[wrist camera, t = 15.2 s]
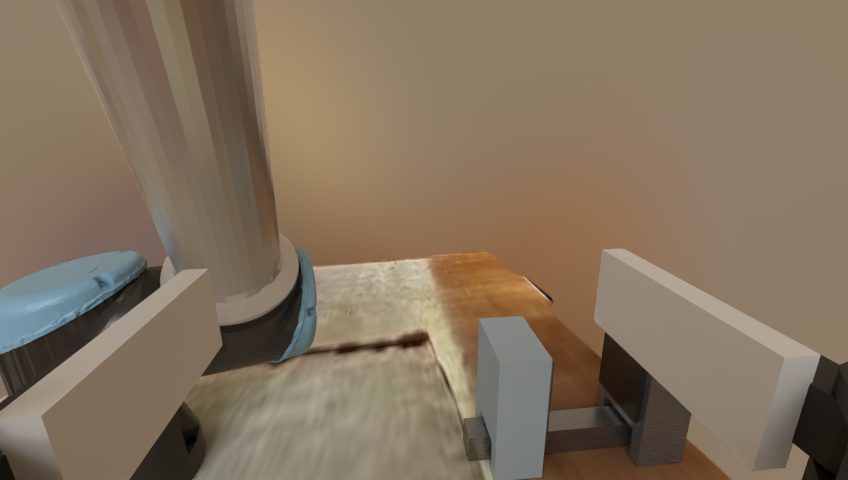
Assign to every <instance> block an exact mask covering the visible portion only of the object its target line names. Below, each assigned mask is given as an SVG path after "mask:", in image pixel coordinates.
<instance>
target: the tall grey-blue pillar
mask: <svg viewBox="0 0 848 480" xmlns="http://www.w3.org/2000/svg"><path fill="white" fill-rule="evenodd" d="M553 373H554V362H553V359H552V358H551V356H550V355H549V354H548V352H547V351H546V349H545V348H544V346H543V345H542V344H541V342H540V341H539V339H538V338H537V336H536V335H535V333H534V332H533V331H532V329H531V328H530V326H529V325H528V323H527V322H526V321H525V319H524V318H523V316H514V317H497V318H480V319H479V337H478V372H477V406H476V417H483V418H484V421H485V424H486V427H487V430H488V433H489V436H490V439H491V442H492V450H491V472H492V476H493V479H494V480H517V479H528V478H538V477H542V469H543V458H544V447H545V436H546V432H547V431H548V427H549V416H550V406H551V395H552V384H553Z"/></svg>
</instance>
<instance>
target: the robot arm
mask: <svg viewBox="0 0 848 480" xmlns="http://www.w3.org/2000/svg"><path fill="white" fill-rule="evenodd" d="M54 1H55V3H56V5H57V7H58V9H59V12H60V14H61V16H62V18H63V21H64V23H65V25H66V27H67V30H68V32H69V34H70V36H71V39H72V41H73V43H74V45H75V48H76V50H77V52H78V54H79V57H80V59H81V61H82V63H83V66H84V68H85V70H86V72H87V74H88V77H89V79H90V81H91V83H92V86H93V88H94V90H95V92H96V95H97V97H98V99H99V101H100V104H101V106H102V108H103V110H104V113H105V115H106V117H107V119H108V121H109V124H110V126H111V128H112V130H113V133H114V135H115V137H116V139H117V142H118V144H119V146H120V148H121V150H122V153H123V155H124V157H125V160H126V162H127V164H128V166H129V168H130V170H131V173H132V175H133V177H134V179H135V182H136V184H137V186H138V189H139V191H140V193H141V195H142V197H143V200H144V202H145V204H146V207H147V209H148V211H149V213H150V215H151V218H152V220H153V222H154V224H155V227H156V229H157V231H158V233H159V236H160V238H161V240H162V242H163V245H164V247H165V249H166V251H167V254H168V257H167V258H166V260H165V262H164V264H163V266H156V267H147V261H146V259H144V258H143V256H142V255H141V254H140V253H138V252H135V251H128V252H125V251H116V252H108V253H102V254H97V255H92V256H88V257H84V258H80V259H76V260H72V261H69V262H66V263H62V264H59V265H55V266H52V267H50V268H47V269H44V270H41V271H38V272H36V273H33V274H30V275H28V276H26V277H23V278H21V279H19V280H17V281H15V282H13V283H11V284H9V285H7V286H5V287H4V288H2V289H1V290H0V375H1V378H2V380H3V383H4V385H5V388H6V390H7V393H8V396H9V397H7V398H6V399H5V400H3V401H2V402H1V403H0V480H191V479H192V477H193V476H194V474H195V473H196V471H197V470H198V468H199V466H200V464H201V462H202V460H203V457H204V453H205V440H204V435H203V431H202V427H201V424H200V422H199V420H198V418H197V417H196V416H195V415H194V413H193V412H192V411H191V410H190V408H189V407H188V406H187V404H186V403H185V402H184V400H185V399H186V397H187V396H188V394H189V393H190V391H191V390H192V388H193V387H194V386H195V384H196V383H197V381H198V380H199V378H200V377H202V376H206V375H211V374H216V373H221V372H225V371H230V370H235V369H240V368H244V367H249V366H254V365H259V364H263V363H268V362H271V363H277V362H281V361H282V360H284V359H286V358H289V357H293V356H297V355H300V354H302V353H304V352H306V351H307V350H308V349H309V348H310V346H311V344H312V342H313V340H314V336H315V330H316V319H317V315H316V310H315V308H316V286H315V278H314V272H313V268H312V263H311V260H310V257H309V255H308V254H307V253H306V252H305V251H303V250H300V249H294V247H293V245H292V244H291V242H290V241H289V240H288V239H287V238H286V237H285V236H283V235H282V234H281V233H279V232H278V223H277V214H276V205H275V196H274V187H273V178H272V169H271V160H270V150H269V142H268V133H267V123H266V114H265V105H264V96H263V87H262V77H261V68H260V59H259V51H258V42H257V32H256V23H255V14H254V5H253V0H54ZM594 321H595V322H596V323H597V324H598V325H599V326H600V327H601V328H602V329H603V330H604V331H605V332H606V333H607V334H609V335H610V336H611V337H612V338H613V339H614V340H615V341H616V342H617V343H618V344H619V345H620V346H621V347H622V348H623V349H624V350H625V351H626V352H627V353H629V354H630V355H631V356H632V357H633V358H634V359H635V360H636V361H637V362H638V363H639V364H640V365H641V366H642V367H643V368H644V369H645V370H646V371H647V372H649V373H650V374H651V375H652V376H653V377H654V378H655V379H656V380H657V381H658V382H659V383H660V384H661V385H662V386H663V387H664V388H665V389H666V390H667V391H669V392H670V393H671V394H672V395H673V396H674V397H675V398H676V399H677V400H678V401H679V402H680V403H681V404H682V405H683V406H684V407H685V408H686V409H687V410H689V411H690V412H691V413H692V414H693V415H694V416H695V417H696V418H697V419H698V420H699V421H700V422H701V423H702V424H703V425H704V426H705V427H706V428H707V429H709V430H710V431H711V432H712V433H713V434H714V435H715V436H716V437H717V438H718V439H719V440H720V441H721V442H722V443H723V444H724V445H725V446H726V447H728V448H729V449H730V450H731V451H732V452H733V453H734V454H735V455H736V456H737V457H738V458H739V459H740V460H741V461H742V462H743V463H744V464H746V465H747V467H749V468H750V469H751V470H752V471H759V470H768V469H777V468H785V467H786V464H787V461H788V458H789V454H790V451H791V448H792V445H793V443H794V444H795V445H796V446H798V447H799V448H800V449H801V450H803V451H804V452H805V453H806V454H808V455H809V459H808V462H807V465H806V468H805V471H804V475H803V477H802V480H848V362H846V363H843V364H841V365H839V364H837V363H835V362H833V361H831V360H829V359H828V358H826V357H824V356H822V355H820V354H818V353H816V352H814V351H813V350H811V349H809V348H807V347H805V346H803V345H802V344H800V343H798V342H796V341H794V340H792V339H790V338H789V337H787V336H785V335H783V334H781V333H779V332H777V331H775V330H774V329H772V328H770V327H768V326H766V325H764V324H763V323H761V322H759V321H757V320H755V319H753V318H751V317H749V316H748V315H746V314H744V313H742V312H740V311H738V310H736V309H734V308H733V307H731V306H729V305H727V304H725V303H724V302H722V301H720V300H718V299H716V298H714V297H712V296H710V295H709V294H707V293H705V292H703V291H701V290H699V289H698V288H696V287H694V286H692V285H690V284H688V283H686V282H684V281H683V280H681V279H679V278H677V277H675V276H673V275H672V274H670V273H668V272H666V271H664V270H662V269H660V268H658V267H657V266H655V265H653V264H651V263H649V262H647V261H646V260H644V259H642V258H640V257H638V256H636V255H634V254H633V253H631V252H629V251H627V250H625V249H604V250H602V258H601V266H600V274H599V283H598V290H597V299H596V307H595V315H594Z"/></svg>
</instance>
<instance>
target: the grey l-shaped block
mask: <svg viewBox="0 0 848 480" xmlns="http://www.w3.org/2000/svg"><path fill="white" fill-rule="evenodd" d="M690 418H691V412H690V411H689V410H687V409H686V408H685V407H684V406H683V405H682V404H681V403H680V402H679V401H678V400H677V399H676V398H675V397H674V396H673V395H672V394H671V393H670V392H669V391H667V390H666V389H665V388H664V387H663V386H662V385H661V384H660V383H659V382H658V381H657V380H656V379H655V378H654V377H653V376H652V375H651V374H650V373H649V372H647V371H646V370H645V369H644V368H643V367H642V366H641V365H640V364H639V363H638V362H637V361H636V360H635V359H634V358H633V357H632V356H631V355H630V354H629V353H627V352H626V351H625V350H624V349H623V348H622V347H621V346H620V345H619V344H618V343H617V342H616V341H615V340H614V339H613V338H612V337H611V336H610V335H609V334H607V333H606V332H605V337H604V345H603V353H602V360H601V367H600V375H599V388H598V395H597V403H596V407H591V408H580V409H568V410H557V411H550V416H549V427H548V431H547V432H546V436H545V447H544V454H547V453H557V452H568V451H578V450H588V449H599V448H609V447H619V446H629V445H630V449H629V457H630V458H631V460H632V461H633V462H634V464H635V465H636V466H637V467H640V466H649V465H659V464H669V463H678V462H681V459H682V455H683V450H684V446H685V441H686V436H687V432H688V427H689V423H690ZM463 441H464V445H465V449H466V452H467V456H468V460H469V461H475V460H486V459H491V450H492V442H491V439H490V436H489V433H488V430H487V427H486V424H485V421H484V418H483V417H476V418H465V419H464V430H463Z"/></svg>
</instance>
